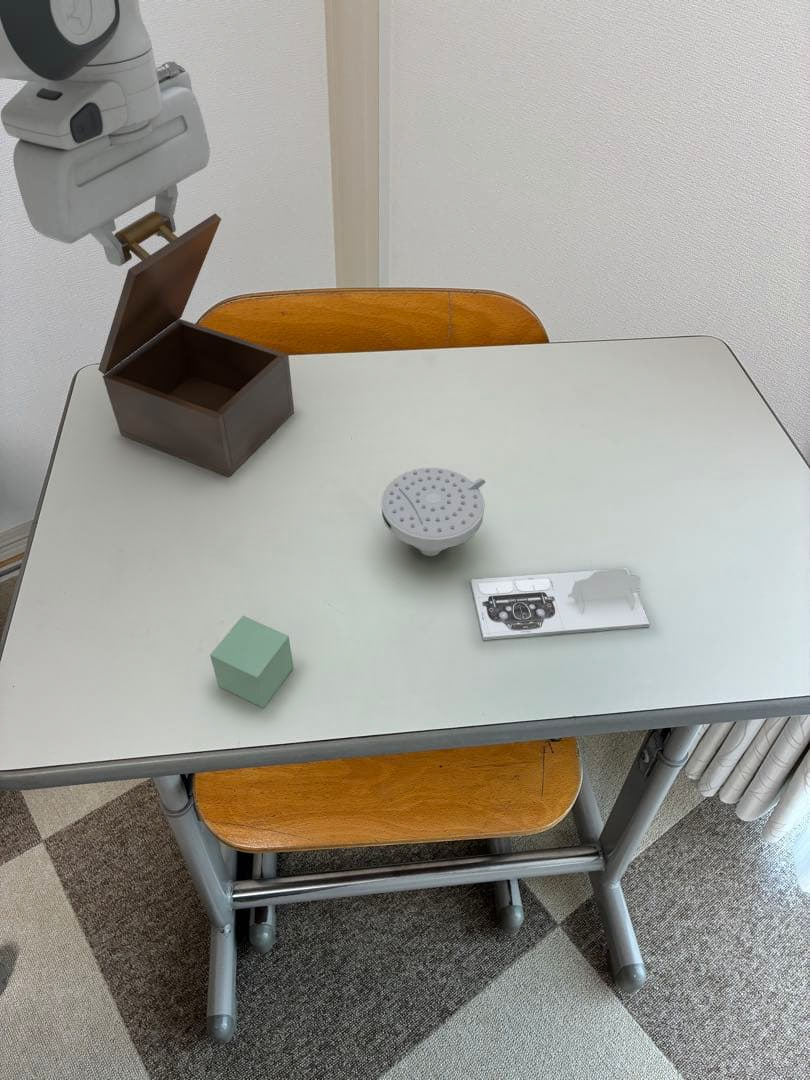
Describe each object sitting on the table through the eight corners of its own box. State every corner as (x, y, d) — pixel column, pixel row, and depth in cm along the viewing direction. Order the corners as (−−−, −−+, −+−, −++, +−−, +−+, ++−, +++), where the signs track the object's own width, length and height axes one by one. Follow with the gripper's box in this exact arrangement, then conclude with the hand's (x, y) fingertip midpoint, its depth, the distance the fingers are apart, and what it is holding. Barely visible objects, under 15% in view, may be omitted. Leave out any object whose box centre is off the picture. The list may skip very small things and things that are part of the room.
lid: (221, 218, 78) (180, 182, 77) (135, 275, 70) (89, 235, 69) (181, 317, 90) (145, 286, 89) (104, 375, 82) (64, 341, 81)
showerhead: (510, 510, 71) (408, 544, 68) (501, 564, 76) (406, 597, 73) (461, 447, 76) (365, 475, 73) (456, 501, 82) (366, 529, 79)
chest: (294, 412, 91) (288, 354, 85) (229, 477, 83) (217, 418, 78) (191, 376, 96) (179, 318, 90) (120, 435, 88) (102, 376, 82)
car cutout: (626, 570, 76) (637, 538, 72) (648, 626, 71) (661, 595, 68) (470, 582, 74) (474, 549, 71) (482, 640, 70) (487, 608, 66)
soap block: (263, 708, 65) (257, 677, 61) (218, 686, 66) (209, 655, 63) (293, 667, 67) (289, 635, 64) (249, 647, 69) (242, 615, 66)
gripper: (156, 50, 73) (185, 199, 84) (-18, 120, 61) (40, 286, 71) (212, 60, 72) (234, 212, 82) (43, 135, 59) (94, 304, 69)
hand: (142, 247), depth 76 cm, fingers closed on lid, 5 cm apart
